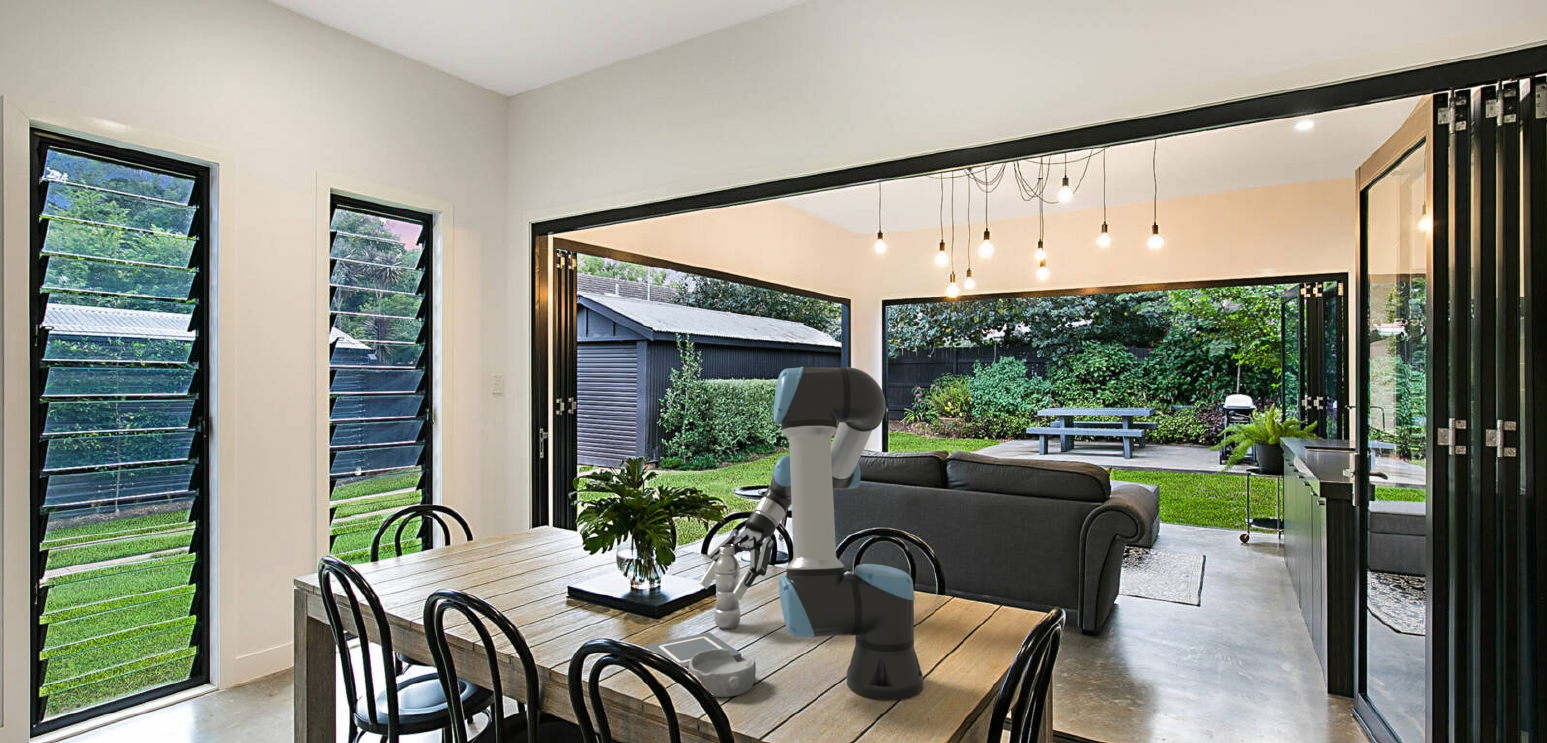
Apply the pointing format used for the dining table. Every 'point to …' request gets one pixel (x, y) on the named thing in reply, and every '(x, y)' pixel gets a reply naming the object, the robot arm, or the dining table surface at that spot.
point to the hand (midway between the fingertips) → (719, 591)
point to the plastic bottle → (727, 588)
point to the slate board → (690, 647)
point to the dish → (722, 672)
